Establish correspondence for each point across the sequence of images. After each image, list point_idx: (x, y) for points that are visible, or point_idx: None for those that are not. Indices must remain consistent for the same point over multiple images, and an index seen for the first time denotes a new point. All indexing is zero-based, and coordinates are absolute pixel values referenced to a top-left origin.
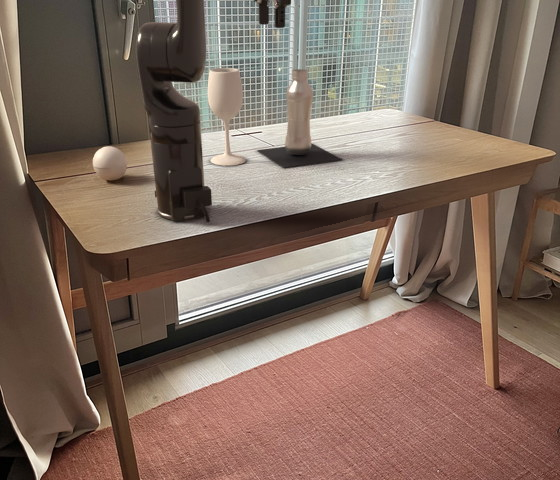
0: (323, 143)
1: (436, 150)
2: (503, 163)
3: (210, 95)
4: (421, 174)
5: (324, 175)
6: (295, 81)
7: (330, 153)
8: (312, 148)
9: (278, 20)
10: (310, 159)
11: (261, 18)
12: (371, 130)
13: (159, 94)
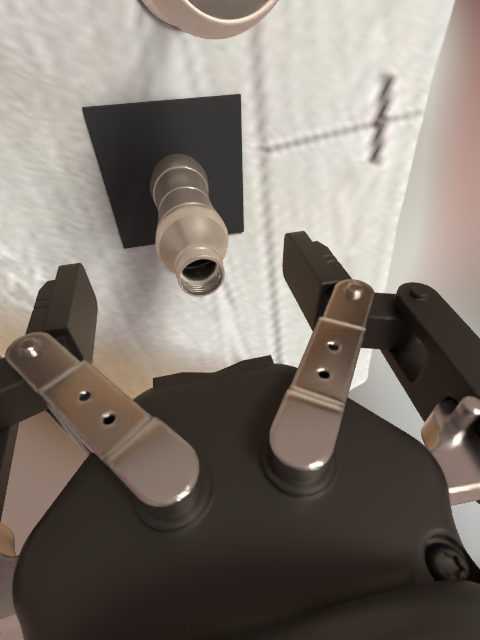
0: (242, 252)
1: (149, 377)
2: None
3: None
4: (24, 330)
5: (20, 180)
6: (186, 246)
7: None
8: None
9: (44, 296)
10: (134, 190)
11: (294, 253)
12: (280, 338)
13: None
